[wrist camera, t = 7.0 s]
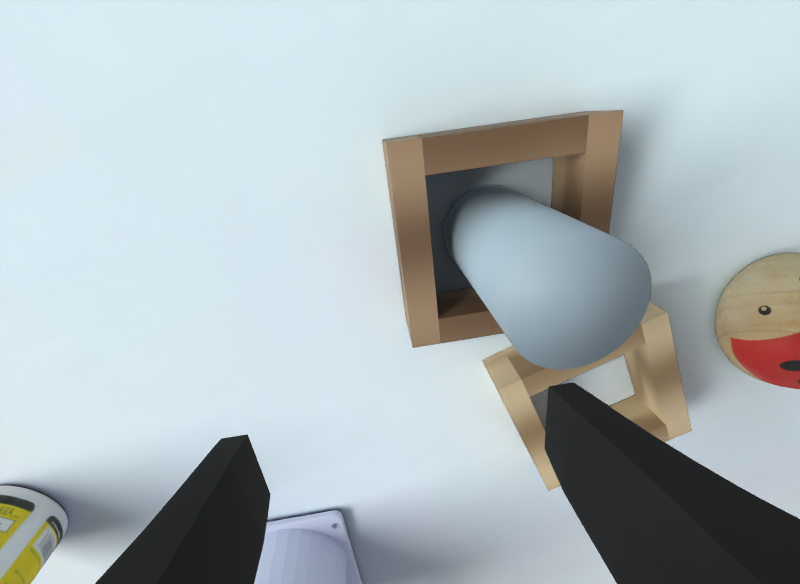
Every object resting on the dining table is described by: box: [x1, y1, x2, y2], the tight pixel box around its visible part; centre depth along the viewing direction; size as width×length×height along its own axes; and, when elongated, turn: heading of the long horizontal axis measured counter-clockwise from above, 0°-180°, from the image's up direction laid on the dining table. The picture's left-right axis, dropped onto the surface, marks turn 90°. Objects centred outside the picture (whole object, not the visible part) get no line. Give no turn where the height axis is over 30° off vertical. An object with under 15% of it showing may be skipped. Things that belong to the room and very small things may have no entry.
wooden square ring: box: [382, 110, 623, 348], centre depth 16 cm, size 8×8×2 cm
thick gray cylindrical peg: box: [444, 185, 651, 370], centre depth 14 cm, size 4×4×8 cm
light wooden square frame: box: [482, 301, 692, 491], centre depth 21 cm, size 8×8×2 cm
